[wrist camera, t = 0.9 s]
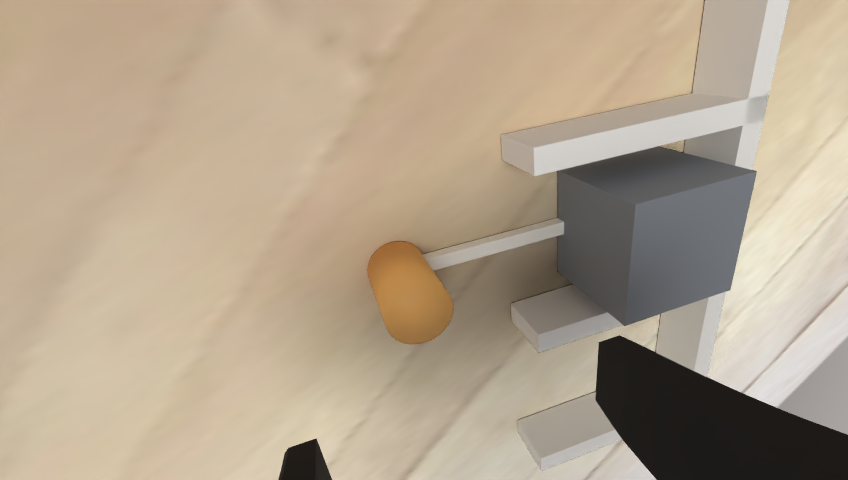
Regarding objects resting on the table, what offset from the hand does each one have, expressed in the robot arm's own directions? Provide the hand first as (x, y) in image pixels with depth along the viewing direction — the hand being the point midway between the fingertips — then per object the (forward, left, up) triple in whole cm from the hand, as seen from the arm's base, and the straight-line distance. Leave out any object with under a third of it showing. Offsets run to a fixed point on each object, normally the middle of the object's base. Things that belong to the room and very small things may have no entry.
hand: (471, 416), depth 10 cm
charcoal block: (0, -6, -8) cm, 10 cm away
